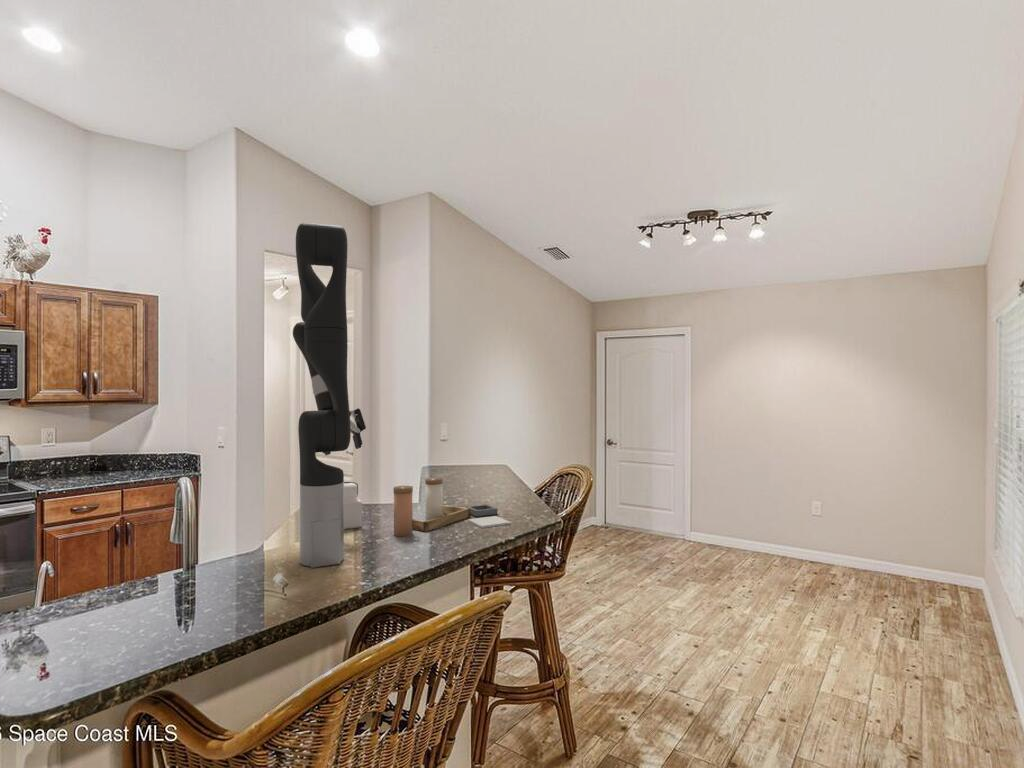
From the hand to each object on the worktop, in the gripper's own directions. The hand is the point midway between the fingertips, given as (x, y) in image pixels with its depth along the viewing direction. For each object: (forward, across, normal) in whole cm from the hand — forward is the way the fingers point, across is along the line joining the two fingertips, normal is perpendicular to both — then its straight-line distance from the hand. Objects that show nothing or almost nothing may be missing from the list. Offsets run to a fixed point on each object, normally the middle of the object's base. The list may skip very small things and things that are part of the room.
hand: (343, 451), depth 150 cm
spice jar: (+25, +23, +4) cm, 34 cm away
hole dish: (+27, +39, +3) cm, 47 cm away
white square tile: (+29, +33, -7) cm, 45 cm away
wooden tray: (+25, +23, +4) cm, 34 cm away
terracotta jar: (+25, +9, -2) cm, 27 cm away
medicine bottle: (+19, +2, +15) cm, 24 cm away
